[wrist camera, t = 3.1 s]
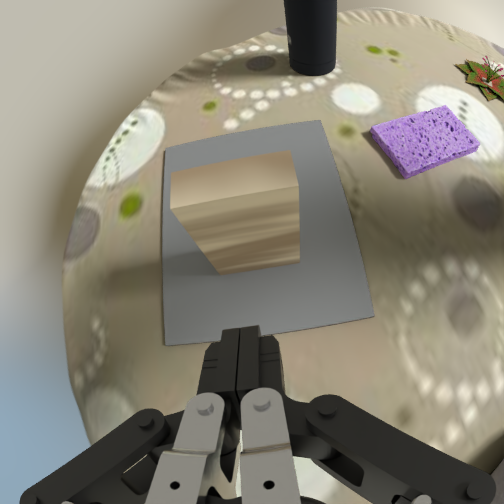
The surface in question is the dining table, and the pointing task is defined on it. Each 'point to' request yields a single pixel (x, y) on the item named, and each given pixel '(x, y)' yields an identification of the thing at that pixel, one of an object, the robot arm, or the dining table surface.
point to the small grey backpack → (499, 484)
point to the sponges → (424, 140)
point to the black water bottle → (311, 35)
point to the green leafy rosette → (479, 71)
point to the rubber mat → (275, 278)
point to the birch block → (241, 211)
